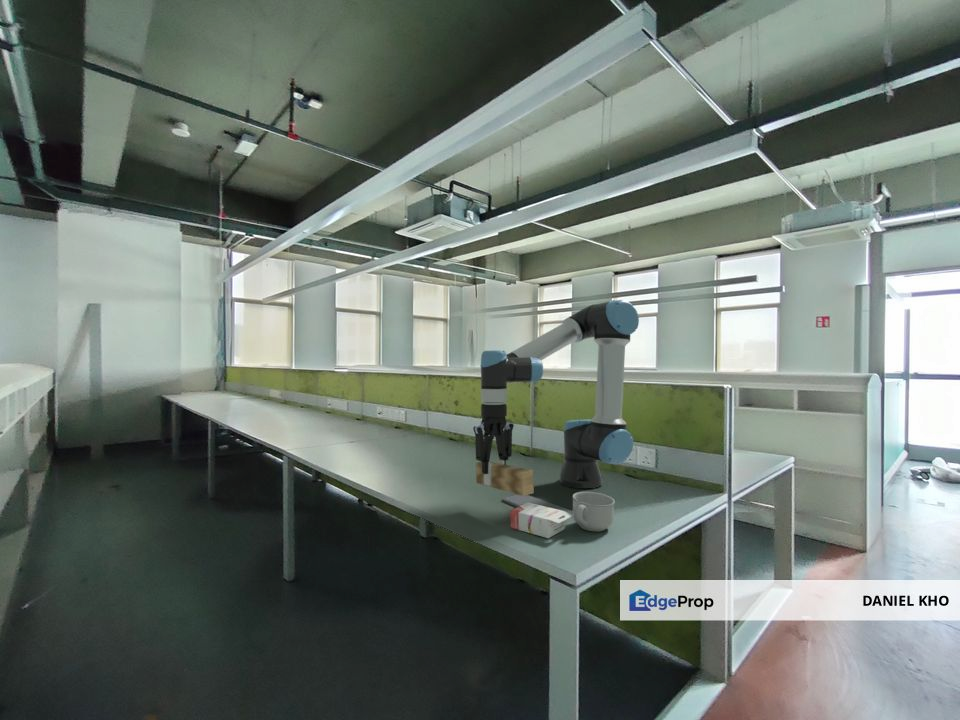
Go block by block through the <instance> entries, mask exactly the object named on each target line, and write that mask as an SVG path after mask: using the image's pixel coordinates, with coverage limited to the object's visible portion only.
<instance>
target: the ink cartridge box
mask: <svg viewBox="0 0 960 720" xmlns="http://www.w3.org/2000/svg"><path fill="white" fill-rule="evenodd" d="M509 512H510V513H509V515H510V516H509V517H510V529H514V530H518V531H522V532H524V533H525V532H526V533H529V534H531V535H536V536H538V537H539V536H540V537H542V538H544V539H545V538H546V539H550V538H551V537H553V536H556V534H559V533H561V532H562V531H564V530H566V524H565V522H566V521H567V520H568V519H570V518H572V517H573V516H574V515H573V514H571V513H568V512H565V511H562V510H558V509H553V508H549V507H545V506H541V505H536V504H532V503H525V504H523V505H521V506H519V507H514V508H513V509H511V510H510V511H509ZM564 516H565V517H564Z"/></svg>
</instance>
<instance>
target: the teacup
mask: <svg viewBox="0 0 960 720" xmlns="http://www.w3.org/2000/svg"><path fill="white" fill-rule="evenodd" d="M615 502H616V500H615V499H614V498H613V497H611V496H609V495H606V494H604V493H601V492H593V491H579V492H575V493H573V494H572V511H573V515H574V516H572V517H573V520H574V522H575V523H576V524H577V525H579V527H580V528H581V529H583V530H586V531H589V532H597V533H598V532H599V533H600V532H602V531H605V530H606V529H608V528H609V527H611V525H612V523H613V520H614V514H615V513H614V512H615V504H616V503H615Z"/></svg>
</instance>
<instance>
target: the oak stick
mask: <svg viewBox="0 0 960 720" xmlns="http://www.w3.org/2000/svg"><path fill="white" fill-rule="evenodd" d="M490 462H491V463H492V486H488V485H486V484H484V474H483V473H482V462H481V461H478V462H475V474H476V476H475V479H476V484H478V485H483V486H486V487H489V488H493V489H497V490H500V491H503V492H508V493H511V494H514V495H521V496H525V495H532V494H534V493H535V492H534V490H535V489H534V470H533V469H527V468H523V467H518V466H513V465H508V464H506V465H504V464H499V463H497V462H493V461H490Z"/></svg>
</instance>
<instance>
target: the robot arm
mask: <svg viewBox="0 0 960 720" xmlns="http://www.w3.org/2000/svg"><path fill="white" fill-rule="evenodd" d="M639 323H640V318H639V314H638V310H637V309H636V308H635V307H634V304H632V303H631V302H629V301H627V300H625V299H619V300H618V299H616V300H614V299H613V300H610V301H606V302H600V303H595V304H591V305H588V306H586V307H584V308H582V309H580V310H579V311H577V312H575V313H574V314H572V315H570V316H568V317H567V318H565V319H564V320H563V322H562V324H560V325H557V326H556V327H554V328H553V329H551V330H549V331H547V332H545V333H543V334H541V335H540V336H538V337H536V338H535V339H532V340H531V341H529V342H527V343H525V344H523V345H521V346H519V347H518V348H515V350H512V351H510V352H509V353H507V352H506V350H499V349H498V350H493V349H492V350H484V351H483V352H481V358H480V384H481V385H480V398H481V399H480V400H481V402H482V403H481V405H480V416H481V421H480V424H479V425H477V426H473V428H472V429H473V432H474V435H475V436H474V439H475V461H478V462H482V473H483V474H484V484H486V485H488V486H487V487H489V486H492V463H491V462H492V461H490V458H491V452H492V445H493V440H494V439H495V443H496V449H497V456H498V458H497V459H496V463H499V464H504V465H507V461H508V460H509V458H510V457H512V454H513V452H512V450H513V449H512V448H513V430H514V423H511V422H508V421H507V418H506V417H507V414H508V411H507V410H508V407H507V406H508V405H507V402H508V395H507V391H508V390H507V388H508V387H507V385H508V383H533V382H537V383H538V382H539V381H541V379H542V378H543V375H544V365H543V362H542V361H543V360H545V359H547V358H548V357H550V356H552V355H553V354H555V353H557V352H559V351H561V350H562V349H563V348H565V347H567V346H569V345H571V344H572V343H575V344H577V343H580V342H582V341H583V340H587V339H591V338H594V339H593V340H594V342H595V343H596V344H597V345H598V350H597V352H598V353H597V370H596V371H597V373H596V387H595V388H596V392H595V393H596V394H595V409H594V411H595V412H594V416H593V417H592V418H591V419H571V420H566V421H565V422H564V427H563V448H564V449H563V451H564V453H563V455H564V457H563V458H564V461H563V464H562V467H561V470H560V471H561V472H560V474H559V484H561V485H562V484H563V486H564V485H565V487H567V486H569V487H568V488H571V487H573V489H578V488H593V489H597V488H596V487H598V488H600V487H599V486H601V485H602V486H603V477H602V475H601V471H600V468H599V464H598V461H599V462H602V463H603V464H611V465H619V464H623V463H624V462H625V461H627V459H628V458H629V457H630V456H631V453H632V452H633V449H634V438H633V436H632V434H631V433H630V431H628V430H627V422H626V421H625V420H624V419H623V402H624V398H623V397H624V381H625V380H624V377H625V357H626V356H625V355H626V346H627V345H628V344H629V343H630V342H631V335H632V334H634V333H635V332H636V331H637V329H638V327H639ZM486 485H485V486H486ZM602 486H601V487H602Z"/></svg>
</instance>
